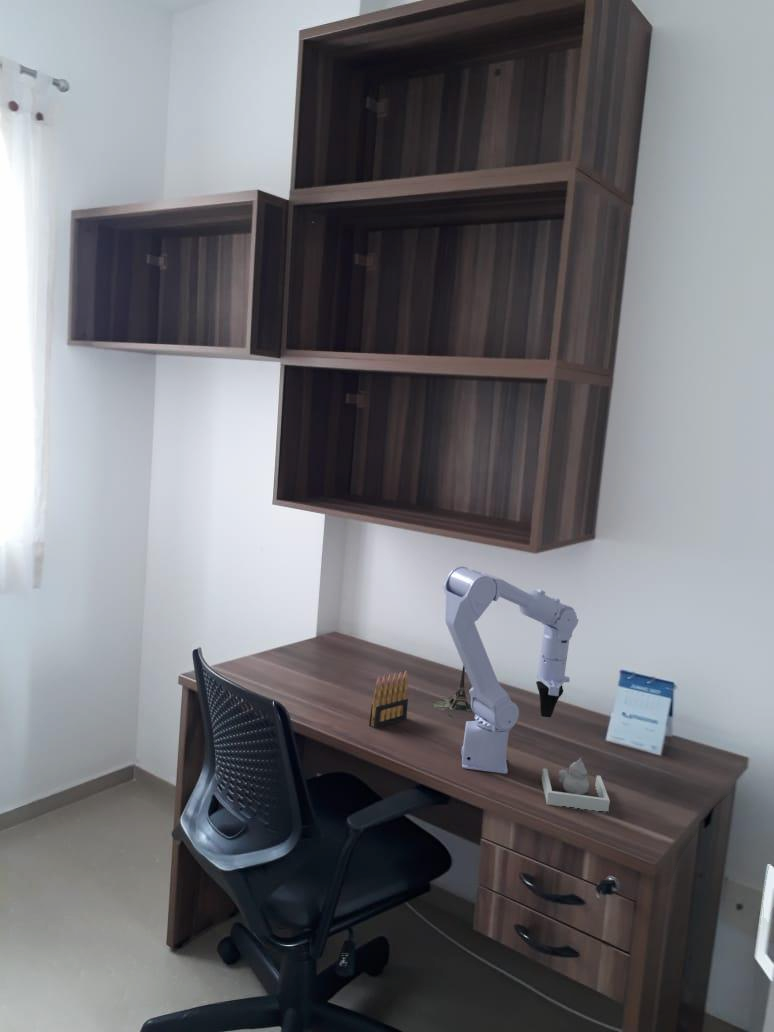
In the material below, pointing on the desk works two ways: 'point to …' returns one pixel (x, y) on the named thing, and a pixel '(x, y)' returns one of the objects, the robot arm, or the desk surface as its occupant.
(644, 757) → the desk surface
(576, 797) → the bay
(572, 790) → the rubber duck
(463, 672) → the eiffel tower figurine
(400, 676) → the ammunition clip
